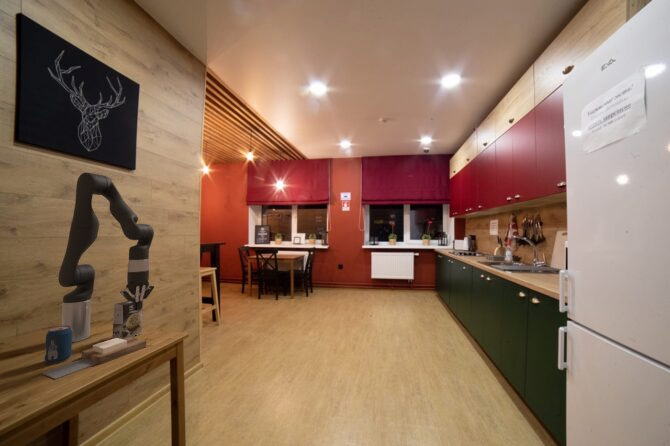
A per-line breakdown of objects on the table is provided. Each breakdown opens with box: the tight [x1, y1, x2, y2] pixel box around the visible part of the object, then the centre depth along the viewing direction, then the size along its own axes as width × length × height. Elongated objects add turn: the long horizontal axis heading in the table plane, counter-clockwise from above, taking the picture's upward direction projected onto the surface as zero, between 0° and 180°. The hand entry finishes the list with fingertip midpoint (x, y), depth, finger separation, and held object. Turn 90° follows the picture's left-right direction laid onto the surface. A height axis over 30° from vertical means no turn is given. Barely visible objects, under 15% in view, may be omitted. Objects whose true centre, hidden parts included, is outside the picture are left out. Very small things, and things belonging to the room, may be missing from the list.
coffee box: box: [111, 300, 144, 339], centre depth 122 cm, size 9×6×16 cm
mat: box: [41, 358, 99, 381], centre depth 93 cm, size 9×12×1 cm
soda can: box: [44, 325, 73, 365], centre depth 99 cm, size 7×7×12 cm
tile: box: [92, 338, 127, 354], centre depth 104 cm, size 7×8×2 cm
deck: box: [80, 336, 147, 365], centre depth 106 cm, size 12×16×2 cm
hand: (137, 310), depth 113 cm, fingers closed
